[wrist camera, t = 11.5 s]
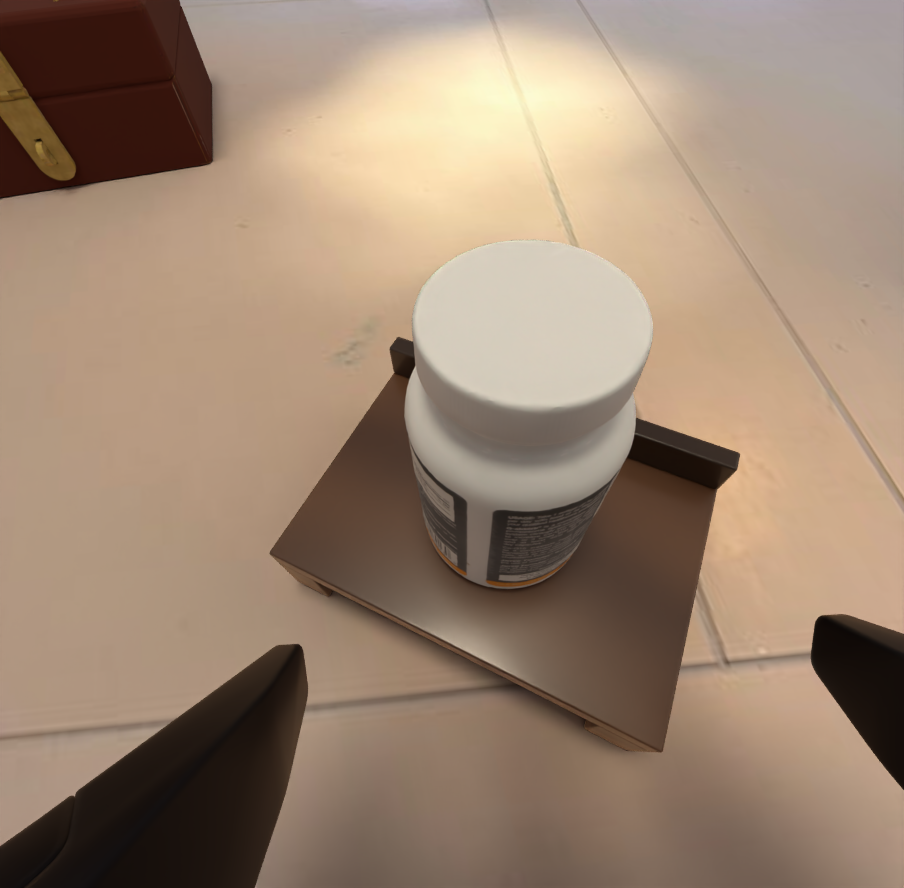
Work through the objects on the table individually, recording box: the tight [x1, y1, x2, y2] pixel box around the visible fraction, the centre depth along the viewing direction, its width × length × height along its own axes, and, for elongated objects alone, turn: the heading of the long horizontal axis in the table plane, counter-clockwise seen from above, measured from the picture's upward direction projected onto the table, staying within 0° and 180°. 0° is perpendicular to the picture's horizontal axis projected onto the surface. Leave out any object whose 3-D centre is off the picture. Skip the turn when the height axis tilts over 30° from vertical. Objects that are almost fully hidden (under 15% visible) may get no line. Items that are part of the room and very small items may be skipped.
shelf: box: [270, 337, 740, 752], centre depth 19 cm, size 10×14×5 cm
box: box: [0, 0, 212, 198], centre depth 36 cm, size 21×16×10 cm
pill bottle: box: [404, 240, 653, 589], centre depth 13 cm, size 6×6×10 cm
